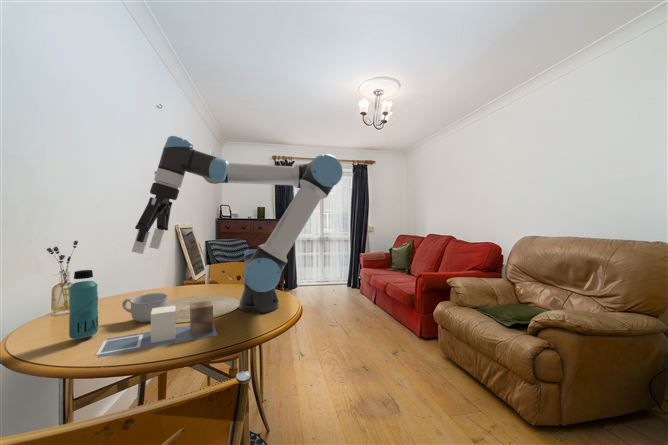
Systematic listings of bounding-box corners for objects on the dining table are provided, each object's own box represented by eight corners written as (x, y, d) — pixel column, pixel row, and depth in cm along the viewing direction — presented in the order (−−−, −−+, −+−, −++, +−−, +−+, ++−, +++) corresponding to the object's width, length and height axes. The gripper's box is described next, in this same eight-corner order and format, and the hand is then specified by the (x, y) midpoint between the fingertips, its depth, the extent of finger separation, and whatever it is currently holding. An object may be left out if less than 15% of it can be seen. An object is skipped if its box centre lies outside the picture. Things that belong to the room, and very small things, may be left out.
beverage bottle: (73, 346, 76) (72, 273, 76) (64, 340, 80) (64, 270, 79) (102, 338, 82) (102, 269, 81) (93, 332, 85) (93, 267, 85)
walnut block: (210, 325, 91) (210, 300, 91) (212, 331, 86) (213, 305, 86) (190, 328, 88) (190, 303, 88) (191, 335, 83) (191, 308, 83)
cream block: (175, 331, 86) (175, 305, 86) (175, 338, 81) (175, 311, 81) (152, 335, 83) (152, 308, 83) (150, 343, 78) (150, 314, 78)
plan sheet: (212, 322, 94) (212, 321, 94) (217, 336, 83) (217, 334, 83) (105, 340, 80) (105, 338, 80) (93, 359, 69) (93, 357, 69)
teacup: (174, 315, 101) (174, 293, 101) (152, 327, 90) (152, 302, 90) (139, 313, 102) (139, 292, 102) (113, 325, 92) (112, 300, 91)
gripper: (166, 186, 99) (148, 244, 98) (137, 175, 75) (112, 251, 74) (188, 192, 101) (171, 249, 100) (167, 183, 77) (144, 258, 76)
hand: (146, 250), depth 87 cm, fingers open, 13 cm apart
